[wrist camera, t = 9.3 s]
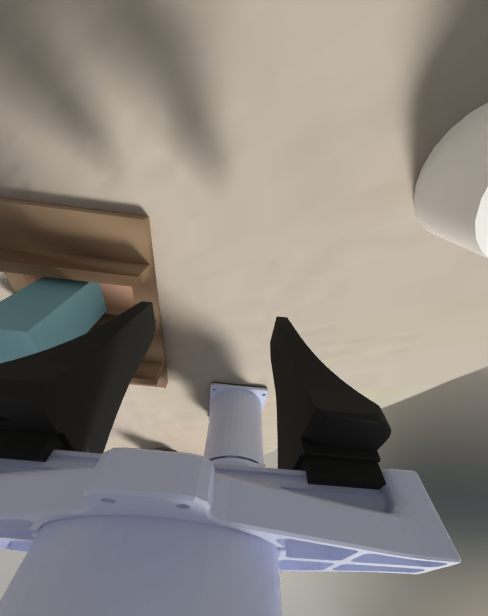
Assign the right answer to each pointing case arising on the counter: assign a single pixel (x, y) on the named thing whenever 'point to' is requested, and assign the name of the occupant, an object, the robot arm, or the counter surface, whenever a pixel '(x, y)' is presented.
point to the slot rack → (86, 261)
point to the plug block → (47, 315)
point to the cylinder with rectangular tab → (457, 185)
